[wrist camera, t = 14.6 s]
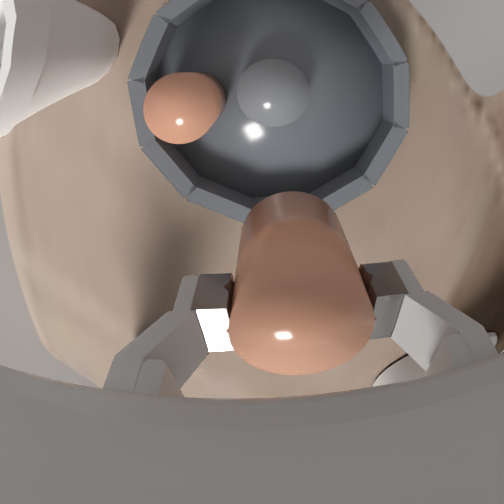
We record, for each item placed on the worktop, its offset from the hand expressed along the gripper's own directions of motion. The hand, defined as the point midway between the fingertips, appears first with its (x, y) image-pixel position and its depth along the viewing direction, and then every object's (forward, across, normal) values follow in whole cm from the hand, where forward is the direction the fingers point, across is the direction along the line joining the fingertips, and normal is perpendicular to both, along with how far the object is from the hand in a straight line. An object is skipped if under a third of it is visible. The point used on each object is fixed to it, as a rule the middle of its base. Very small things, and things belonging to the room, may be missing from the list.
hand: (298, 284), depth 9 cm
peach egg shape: (+14, -5, +5) cm, 15 cm away
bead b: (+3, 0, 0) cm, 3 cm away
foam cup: (+15, -14, +11) cm, 23 cm away
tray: (+14, 0, +5) cm, 15 cm away
